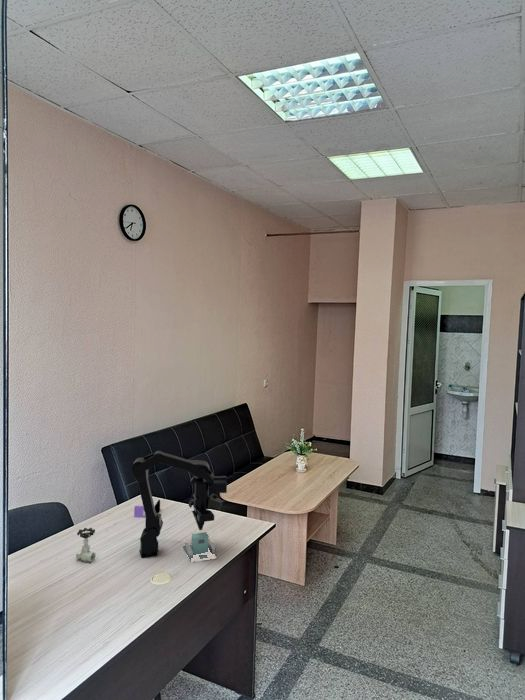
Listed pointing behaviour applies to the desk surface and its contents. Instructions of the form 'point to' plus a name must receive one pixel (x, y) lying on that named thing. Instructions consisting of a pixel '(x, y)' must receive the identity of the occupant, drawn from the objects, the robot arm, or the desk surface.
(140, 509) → the toy room diorama
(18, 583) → the desk surface
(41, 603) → the desk surface
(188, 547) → the plate
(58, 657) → the desk surface
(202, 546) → the block
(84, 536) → the valve
